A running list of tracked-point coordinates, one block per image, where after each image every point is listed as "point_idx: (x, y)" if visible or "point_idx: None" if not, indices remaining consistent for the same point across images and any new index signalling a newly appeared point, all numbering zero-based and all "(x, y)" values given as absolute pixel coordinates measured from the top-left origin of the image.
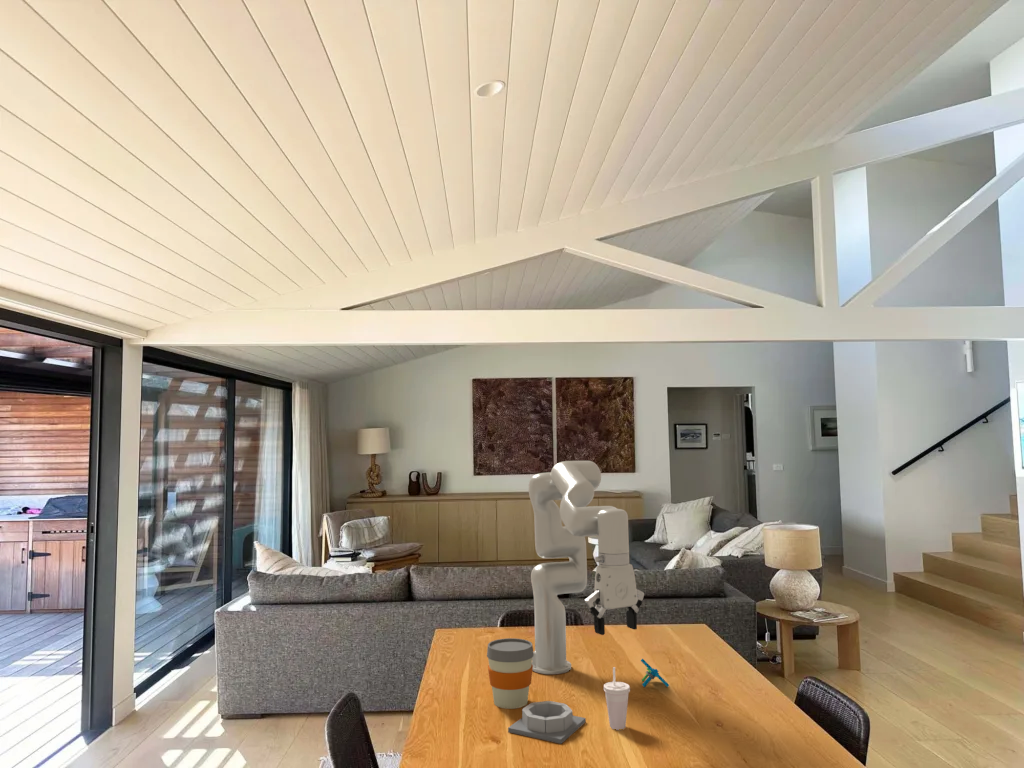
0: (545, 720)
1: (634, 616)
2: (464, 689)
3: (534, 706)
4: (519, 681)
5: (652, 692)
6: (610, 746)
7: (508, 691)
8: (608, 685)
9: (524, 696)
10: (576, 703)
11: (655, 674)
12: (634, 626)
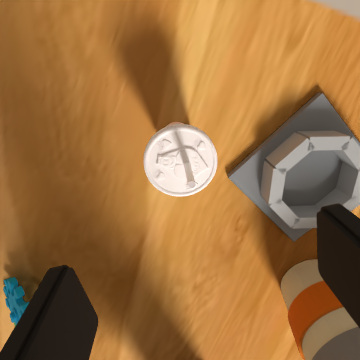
0: (347, 139)
1: (22, 349)
2: None
3: None
4: None
5: (47, 268)
6: (231, 48)
7: None
8: (204, 168)
9: (304, 274)
10: (205, 255)
11: (23, 295)
12: (61, 278)
